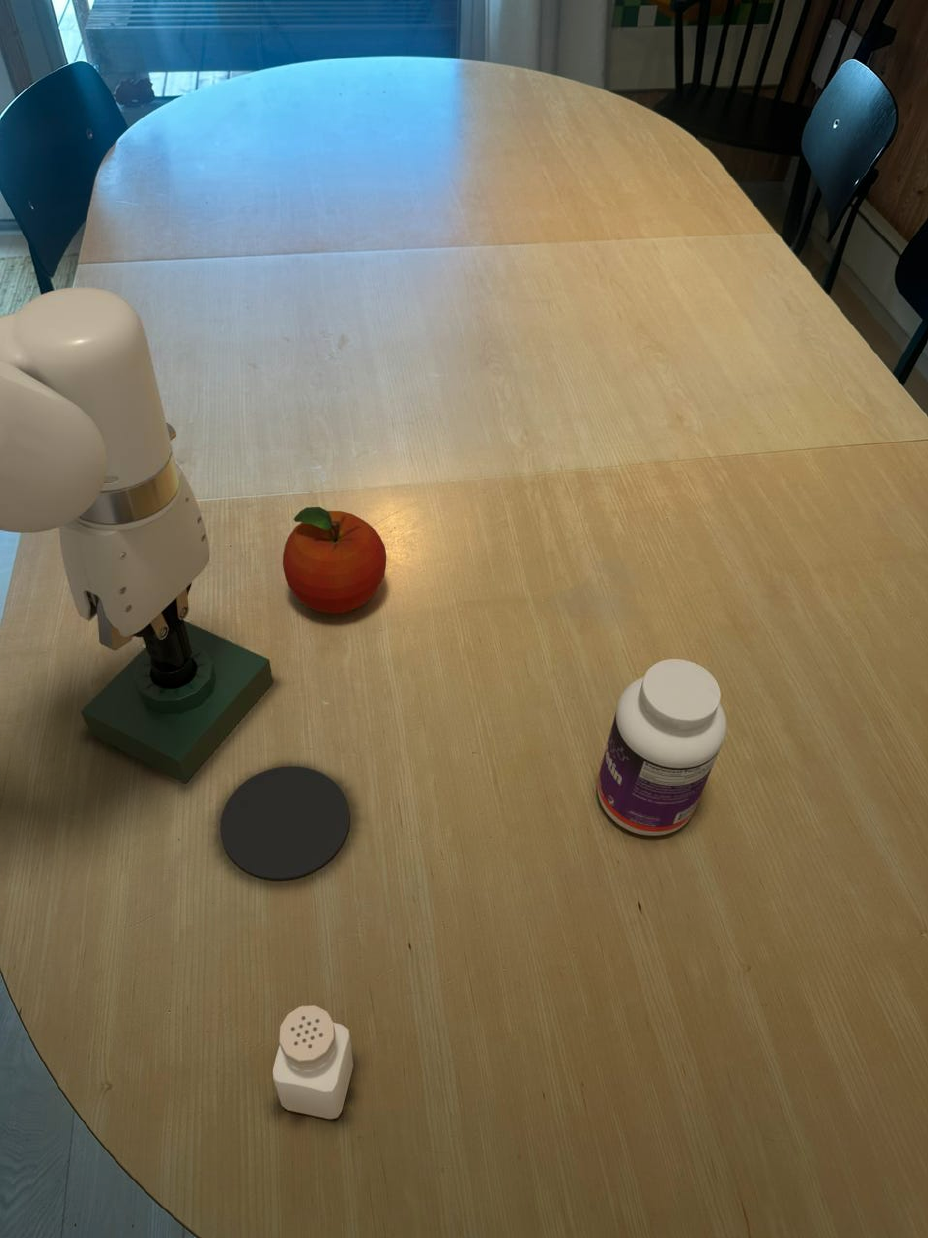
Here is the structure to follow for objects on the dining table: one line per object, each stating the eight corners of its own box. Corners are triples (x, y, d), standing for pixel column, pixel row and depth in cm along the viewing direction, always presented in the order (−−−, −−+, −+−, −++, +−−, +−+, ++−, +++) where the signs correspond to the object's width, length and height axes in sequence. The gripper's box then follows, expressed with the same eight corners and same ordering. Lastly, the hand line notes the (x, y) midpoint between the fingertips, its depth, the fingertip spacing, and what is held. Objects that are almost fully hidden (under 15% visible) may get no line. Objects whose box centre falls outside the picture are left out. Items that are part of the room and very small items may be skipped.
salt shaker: (356, 1059, 64) (349, 1005, 57) (339, 1124, 61) (330, 1075, 54) (297, 1047, 65) (283, 991, 58) (279, 1111, 62) (262, 1060, 55)
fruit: (375, 637, 89) (372, 559, 82) (275, 622, 90) (262, 543, 83) (397, 566, 96) (396, 488, 88) (303, 553, 97) (294, 474, 89)
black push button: (177, 694, 78) (172, 678, 77) (146, 679, 79) (141, 663, 78) (202, 668, 80) (198, 652, 79) (171, 653, 81) (167, 637, 80)
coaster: (302, 903, 71) (302, 901, 71) (194, 844, 74) (193, 841, 74) (373, 801, 78) (373, 798, 77) (270, 750, 80) (270, 747, 80)
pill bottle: (599, 749, 82) (627, 636, 71) (694, 765, 81) (737, 653, 71) (591, 832, 76) (620, 723, 66) (693, 850, 76) (739, 743, 65)
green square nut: (185, 784, 78) (174, 748, 74) (90, 734, 81) (74, 697, 77) (273, 682, 85) (267, 645, 82) (182, 640, 88) (172, 602, 84)
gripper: (149, 403, 70) (192, 580, 84) (-8, 523, 61) (69, 700, 75) (233, 435, 68) (264, 612, 82) (83, 565, 59) (145, 740, 72)
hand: (170, 654), depth 78 cm, fingers closed
